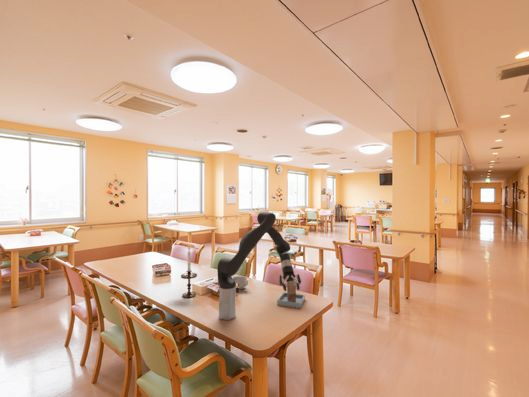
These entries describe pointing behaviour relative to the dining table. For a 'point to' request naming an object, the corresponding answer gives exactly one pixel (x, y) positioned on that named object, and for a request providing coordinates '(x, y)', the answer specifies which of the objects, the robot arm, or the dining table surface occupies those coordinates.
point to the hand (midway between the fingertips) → (292, 290)
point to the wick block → (291, 291)
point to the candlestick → (189, 276)
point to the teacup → (241, 281)
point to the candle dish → (285, 302)
